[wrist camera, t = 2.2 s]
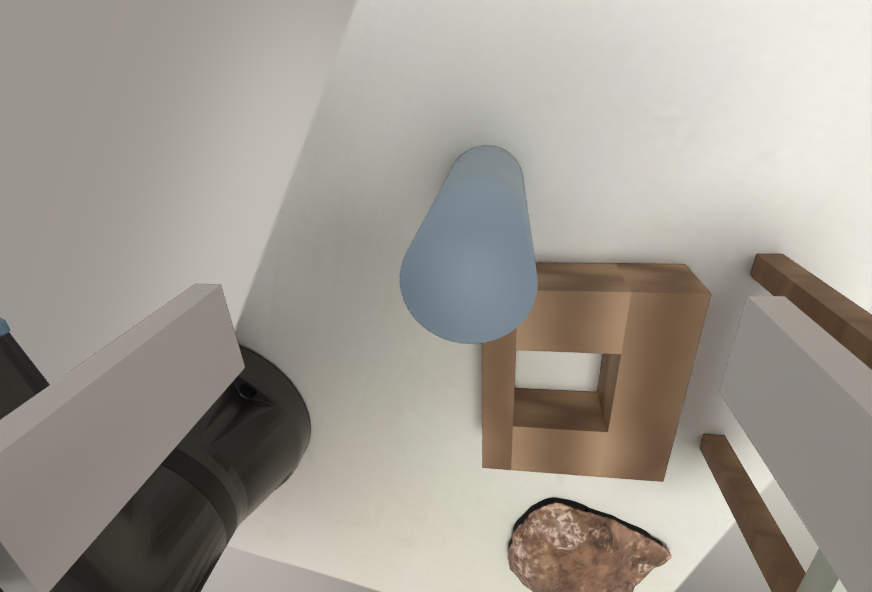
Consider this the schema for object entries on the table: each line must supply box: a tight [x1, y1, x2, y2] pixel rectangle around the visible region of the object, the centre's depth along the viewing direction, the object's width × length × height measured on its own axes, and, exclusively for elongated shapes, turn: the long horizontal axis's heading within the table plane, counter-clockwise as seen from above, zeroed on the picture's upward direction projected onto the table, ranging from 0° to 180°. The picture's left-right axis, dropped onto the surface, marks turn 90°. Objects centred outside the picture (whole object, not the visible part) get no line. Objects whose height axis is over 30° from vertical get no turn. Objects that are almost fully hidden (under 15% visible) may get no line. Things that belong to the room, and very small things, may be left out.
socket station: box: [482, 254, 872, 592], centre depth 23 cm, size 18×16×17 cm
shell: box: [508, 498, 671, 592], centre depth 39 cm, size 12×13×4 cm
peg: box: [400, 145, 538, 344], centre depth 21 cm, size 4×4×14 cm
